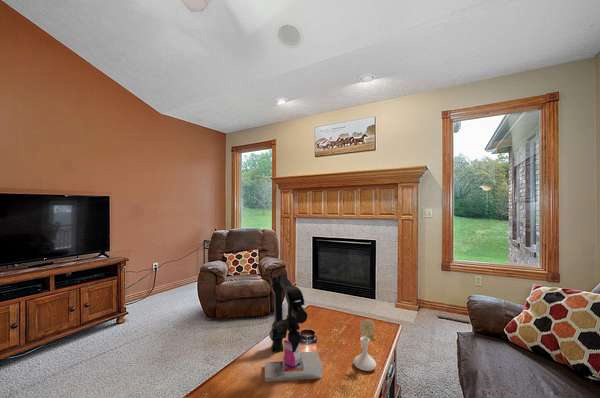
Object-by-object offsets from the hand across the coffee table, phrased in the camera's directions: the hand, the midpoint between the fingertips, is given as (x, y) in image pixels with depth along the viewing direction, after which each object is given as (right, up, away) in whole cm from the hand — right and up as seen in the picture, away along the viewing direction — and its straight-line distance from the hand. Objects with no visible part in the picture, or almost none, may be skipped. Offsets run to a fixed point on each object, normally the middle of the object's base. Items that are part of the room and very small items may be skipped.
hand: (292, 347), depth 129 cm
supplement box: (0, -8, 0) cm, 8 cm away
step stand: (0, -12, 0) cm, 12 cm away
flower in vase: (+37, -13, +4) cm, 39 cm away
